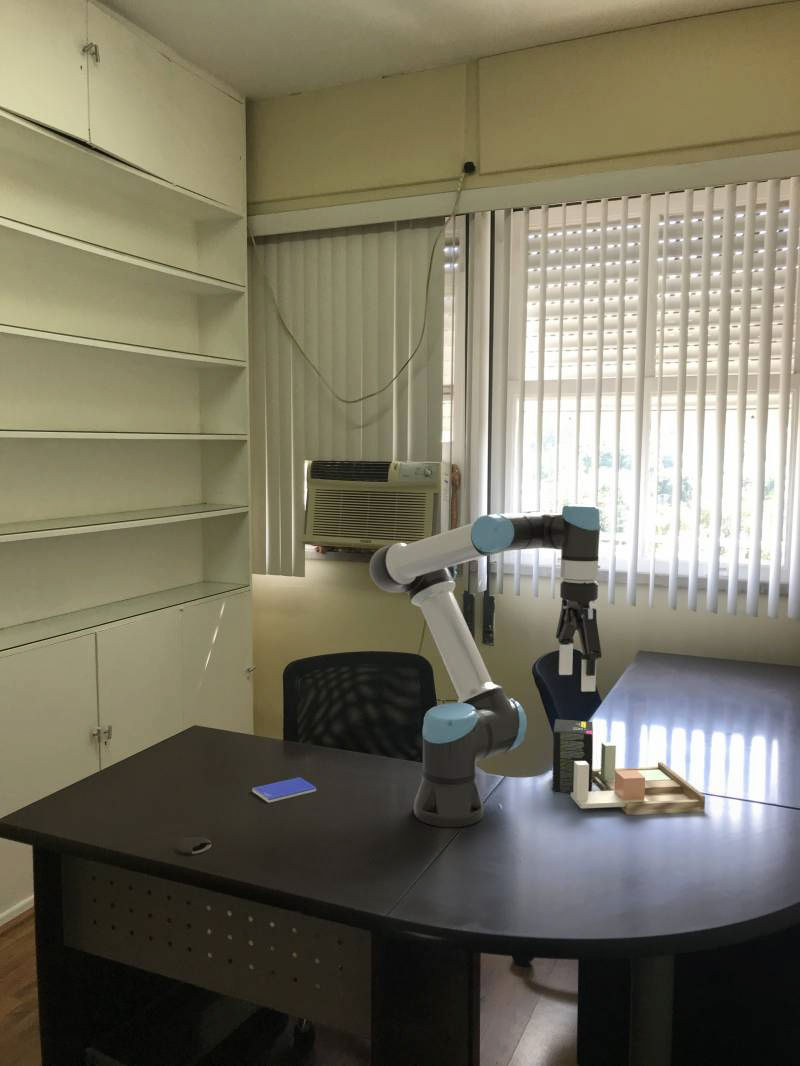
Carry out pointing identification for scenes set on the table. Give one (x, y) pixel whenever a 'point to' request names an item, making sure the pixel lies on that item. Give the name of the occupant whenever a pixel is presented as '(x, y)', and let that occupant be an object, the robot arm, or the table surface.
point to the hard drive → (284, 789)
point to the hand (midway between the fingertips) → (576, 682)
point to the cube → (629, 785)
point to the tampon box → (571, 752)
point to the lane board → (660, 794)
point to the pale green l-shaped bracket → (609, 766)
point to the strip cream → (594, 797)
